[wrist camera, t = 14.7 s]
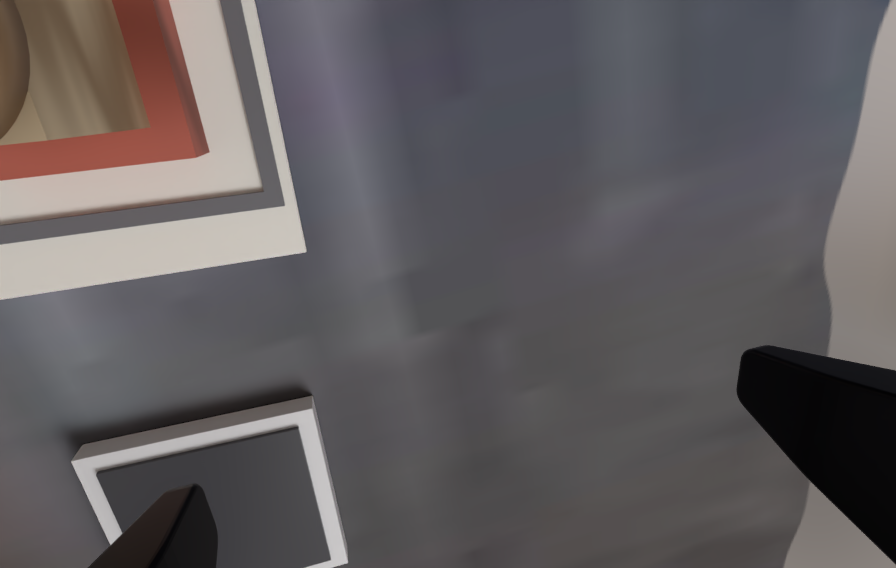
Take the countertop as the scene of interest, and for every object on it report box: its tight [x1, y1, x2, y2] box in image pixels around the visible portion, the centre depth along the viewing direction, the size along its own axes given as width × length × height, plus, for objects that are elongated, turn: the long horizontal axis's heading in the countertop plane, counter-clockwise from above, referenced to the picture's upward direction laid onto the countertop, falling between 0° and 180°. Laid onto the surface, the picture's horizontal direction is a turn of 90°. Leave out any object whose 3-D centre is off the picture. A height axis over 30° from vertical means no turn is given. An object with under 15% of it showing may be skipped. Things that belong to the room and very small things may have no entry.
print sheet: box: [0, 0, 307, 300], centre depth 15 cm, size 14×11×1 cm
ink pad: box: [71, 396, 348, 568], centre depth 21 cm, size 9×9×1 cm
